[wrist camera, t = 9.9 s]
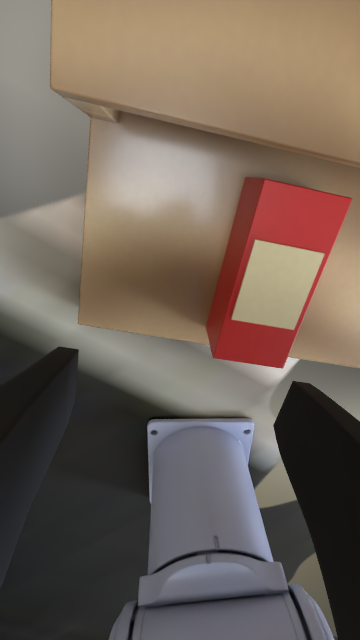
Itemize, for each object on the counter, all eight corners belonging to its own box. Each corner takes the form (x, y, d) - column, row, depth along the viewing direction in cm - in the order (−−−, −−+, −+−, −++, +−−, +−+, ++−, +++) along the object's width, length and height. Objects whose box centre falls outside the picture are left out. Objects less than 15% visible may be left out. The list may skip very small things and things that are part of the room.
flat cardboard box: (351, 353, 21) (429, 430, 15) (86, 310, 19) (45, 378, 13) (527, 10, 14) (840, -130, 7) (117, -124, 11) (56, -485, 5)
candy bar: (264, 337, 18) (283, 370, 15) (205, 327, 18) (213, 359, 15) (317, 193, 15) (354, 198, 12) (245, 176, 14) (265, 178, 11)
